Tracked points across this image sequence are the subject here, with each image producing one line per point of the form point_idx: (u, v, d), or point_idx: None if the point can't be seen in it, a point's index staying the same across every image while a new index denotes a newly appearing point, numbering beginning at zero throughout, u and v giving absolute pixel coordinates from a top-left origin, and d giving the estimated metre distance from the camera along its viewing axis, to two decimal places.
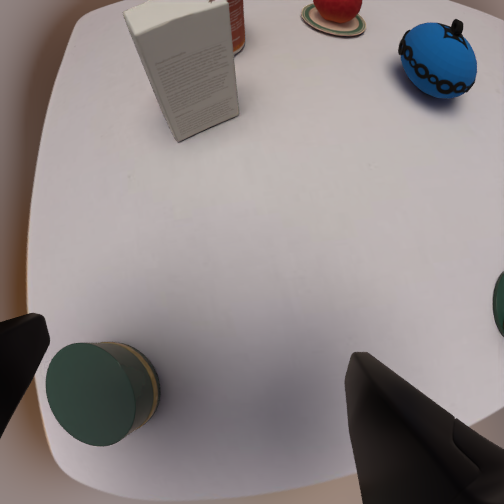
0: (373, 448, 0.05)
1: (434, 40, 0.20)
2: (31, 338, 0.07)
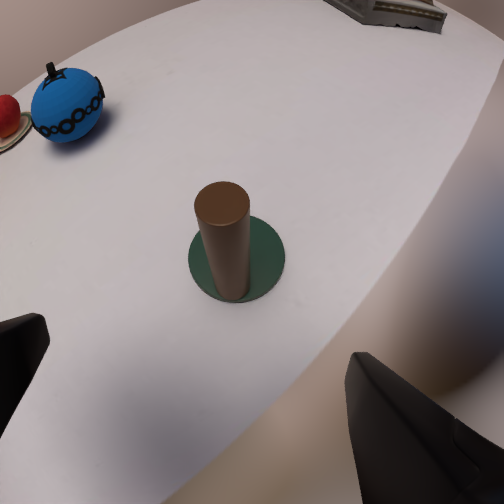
0: (373, 448, 0.05)
1: (37, 99, 0.23)
2: (31, 338, 0.07)
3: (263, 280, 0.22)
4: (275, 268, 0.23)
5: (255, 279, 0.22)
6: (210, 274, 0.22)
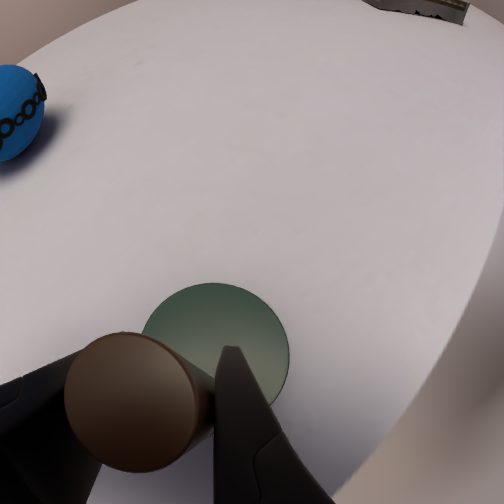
0: None
1: None
2: None
3: None
4: (273, 378, 0.13)
5: None
6: None
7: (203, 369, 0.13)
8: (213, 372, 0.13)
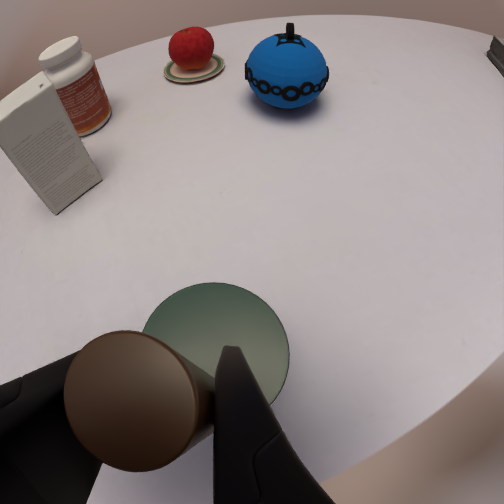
0: None
1: (268, 52, 0.25)
2: None
3: None
4: (274, 378, 0.13)
5: None
6: None
7: (203, 369, 0.13)
8: (213, 372, 0.13)
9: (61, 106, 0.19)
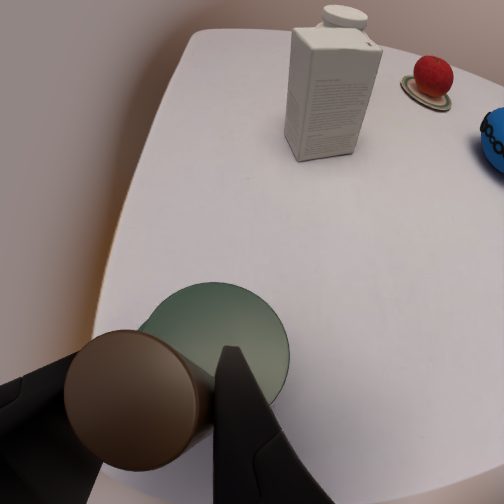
0: None
1: None
2: None
3: None
4: (274, 377, 0.13)
5: None
6: None
7: (203, 368, 0.13)
8: (213, 372, 0.13)
9: (375, 73, 0.21)
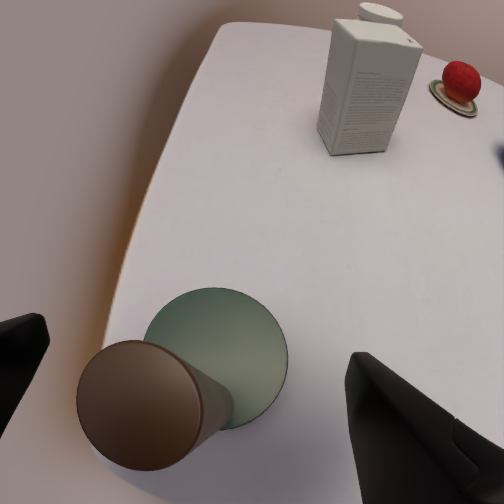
0: (373, 448, 0.05)
1: None
2: (31, 338, 0.07)
3: (254, 400, 0.13)
4: (273, 380, 0.14)
5: (241, 398, 0.13)
6: None
7: (204, 371, 0.14)
8: (213, 375, 0.14)
9: (414, 70, 0.19)
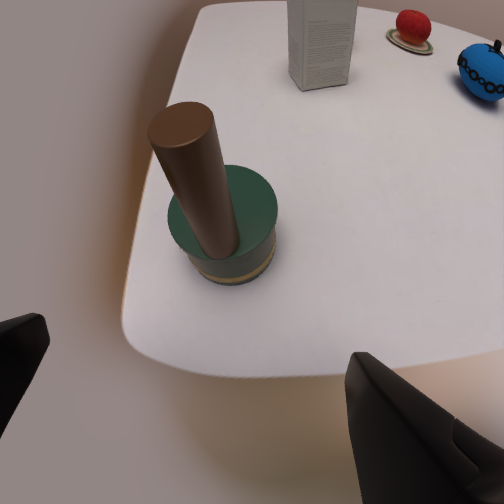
0: (373, 448, 0.05)
1: (482, 53, 0.25)
2: (31, 338, 0.07)
3: (255, 232, 0.19)
4: (267, 217, 0.19)
5: (245, 232, 0.19)
6: (193, 233, 0.19)
7: None
8: None
9: (355, 15, 0.24)
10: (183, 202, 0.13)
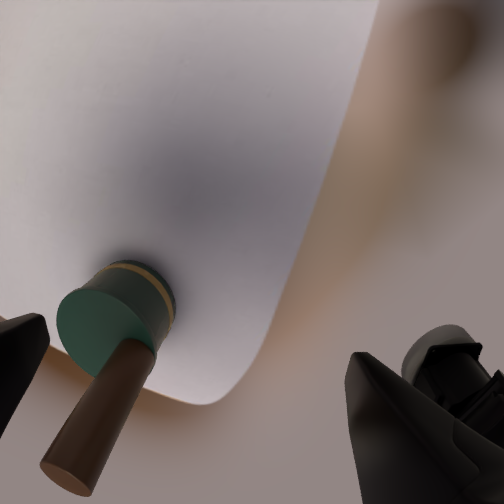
0: (373, 448, 0.05)
1: None
2: (31, 338, 0.07)
3: (131, 325, 0.17)
4: (117, 307, 0.16)
5: (130, 332, 0.17)
6: None
7: (112, 349, 0.17)
8: (114, 344, 0.17)
9: None
10: None
